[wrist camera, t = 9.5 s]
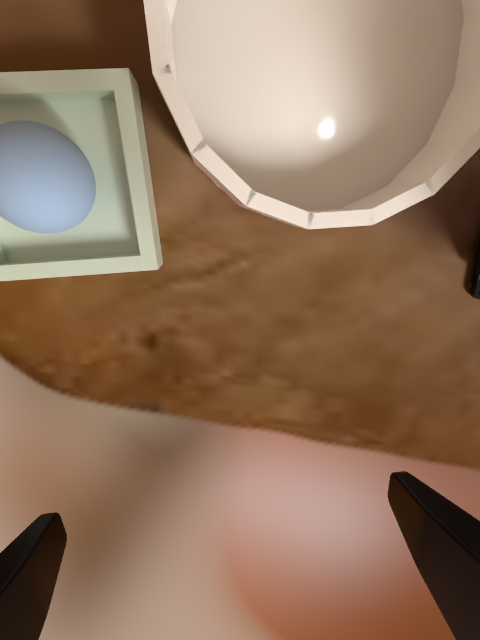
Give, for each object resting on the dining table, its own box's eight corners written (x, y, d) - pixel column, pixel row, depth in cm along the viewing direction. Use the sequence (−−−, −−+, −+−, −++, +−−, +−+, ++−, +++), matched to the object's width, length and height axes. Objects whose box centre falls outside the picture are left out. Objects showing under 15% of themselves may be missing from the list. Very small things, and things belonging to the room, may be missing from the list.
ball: (115, 226, 18) (86, 234, 13) (27, 232, 17) (-33, 242, 13) (97, 130, 16) (57, 103, 12) (0, 135, 16) (-78, 108, 11)
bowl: (487, -149, 14) (603, -296, 10) (435, 214, 20) (497, 216, 15) (137, -152, 13) (103, -316, 9) (181, 230, 19) (173, 238, 14)
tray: (138, 83, 16) (128, 68, 14) (163, 263, 19) (157, 269, 17) (-52, 90, 16) (-87, 75, 14) (5, 274, 19) (-17, 282, 17)
